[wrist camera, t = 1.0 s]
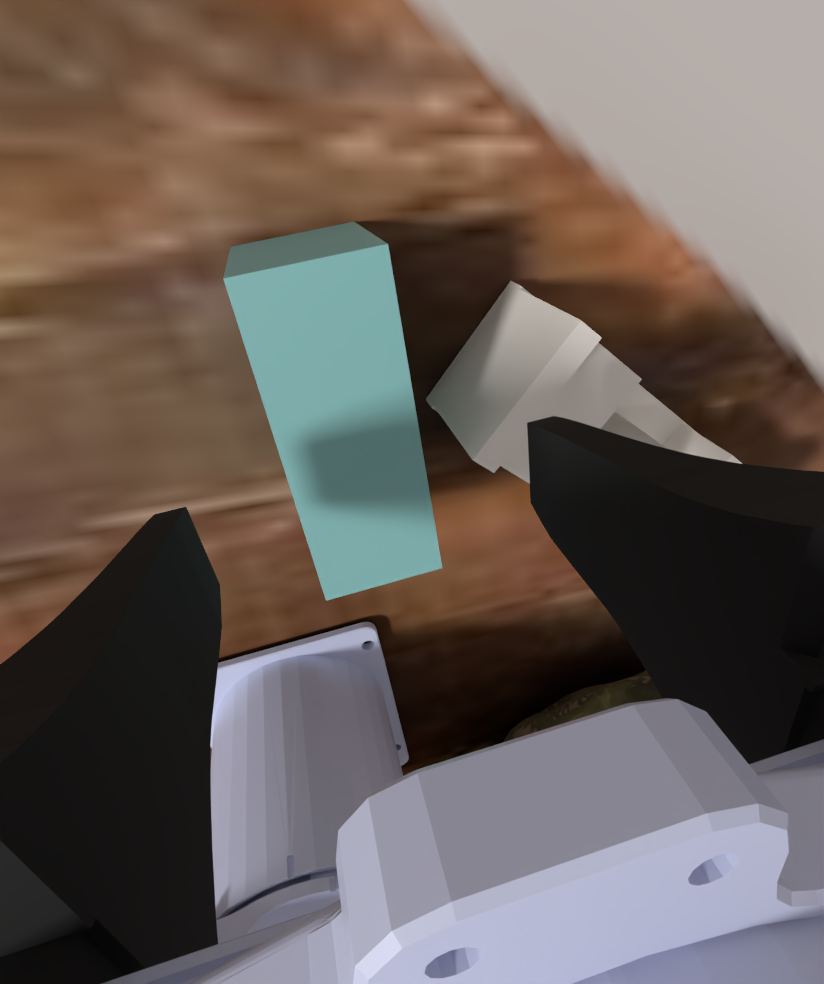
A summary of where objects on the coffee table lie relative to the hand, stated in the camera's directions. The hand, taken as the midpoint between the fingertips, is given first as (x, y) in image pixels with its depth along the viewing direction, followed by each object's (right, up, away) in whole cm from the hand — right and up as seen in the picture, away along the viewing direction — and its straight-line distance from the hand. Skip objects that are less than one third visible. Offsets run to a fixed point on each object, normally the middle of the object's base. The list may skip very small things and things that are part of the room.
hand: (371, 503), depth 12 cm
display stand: (+7, +3, +10) cm, 12 cm away
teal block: (-2, +4, +7) cm, 8 cm away
